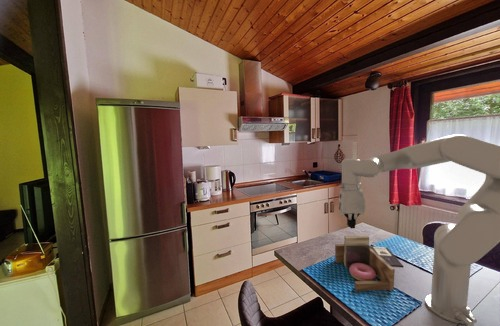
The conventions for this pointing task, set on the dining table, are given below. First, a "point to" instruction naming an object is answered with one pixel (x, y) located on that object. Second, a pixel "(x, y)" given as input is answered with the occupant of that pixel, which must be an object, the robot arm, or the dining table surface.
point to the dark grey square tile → (357, 255)
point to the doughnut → (362, 272)
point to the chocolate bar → (387, 256)
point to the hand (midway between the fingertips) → (351, 227)
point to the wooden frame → (376, 262)
